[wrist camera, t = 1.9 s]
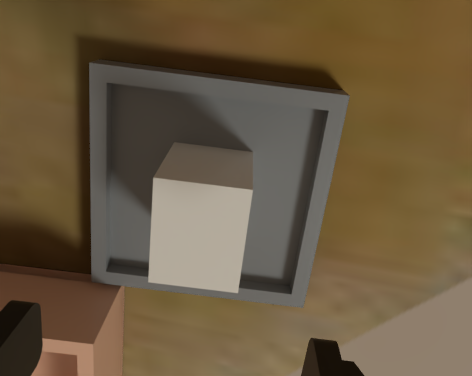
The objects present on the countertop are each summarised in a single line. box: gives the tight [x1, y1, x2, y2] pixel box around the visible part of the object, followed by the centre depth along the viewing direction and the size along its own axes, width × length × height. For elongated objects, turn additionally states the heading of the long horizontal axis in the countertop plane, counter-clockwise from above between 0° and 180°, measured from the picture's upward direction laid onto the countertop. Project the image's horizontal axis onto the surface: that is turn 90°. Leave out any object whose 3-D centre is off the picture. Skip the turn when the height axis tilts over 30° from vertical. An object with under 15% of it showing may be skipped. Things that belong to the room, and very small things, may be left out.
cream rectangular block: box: [148, 142, 253, 293], centre depth 21 cm, size 5×4×5 cm
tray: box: [89, 59, 349, 308], centre depth 23 cm, size 12×12×1 cm
